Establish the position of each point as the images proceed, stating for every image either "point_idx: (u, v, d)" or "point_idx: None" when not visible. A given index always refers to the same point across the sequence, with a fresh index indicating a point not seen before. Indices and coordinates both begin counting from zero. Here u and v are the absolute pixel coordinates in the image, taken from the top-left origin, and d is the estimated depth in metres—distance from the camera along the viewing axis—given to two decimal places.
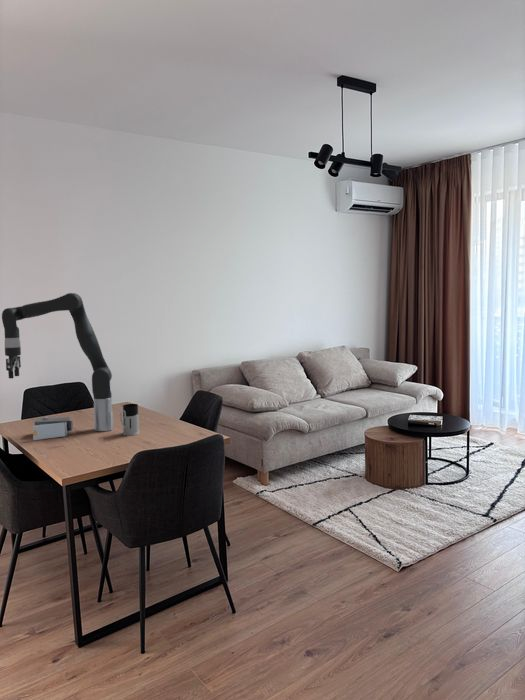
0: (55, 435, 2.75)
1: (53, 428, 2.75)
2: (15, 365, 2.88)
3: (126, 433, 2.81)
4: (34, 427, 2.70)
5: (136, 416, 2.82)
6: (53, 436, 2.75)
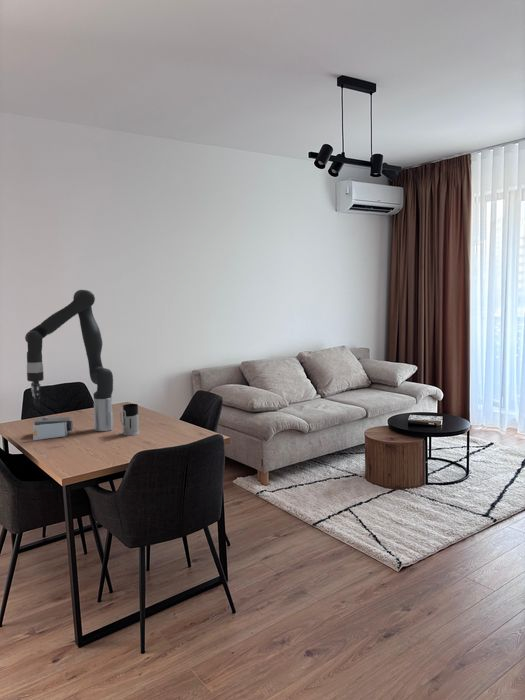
0: (55, 435, 2.75)
1: (53, 428, 2.75)
2: (36, 393, 2.70)
3: (126, 433, 2.81)
4: (34, 427, 2.70)
5: (136, 416, 2.82)
6: (53, 436, 2.75)
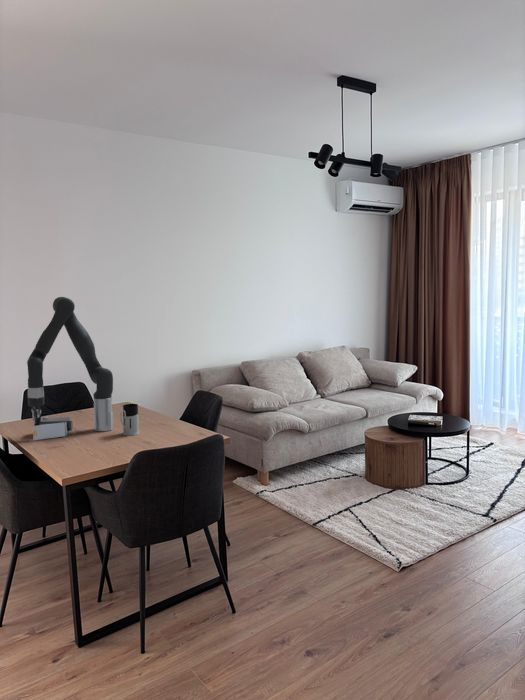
0: (55, 435, 2.75)
1: (53, 428, 2.74)
2: None
3: (126, 433, 2.81)
4: (34, 427, 2.70)
5: (136, 416, 2.82)
6: (53, 436, 2.75)
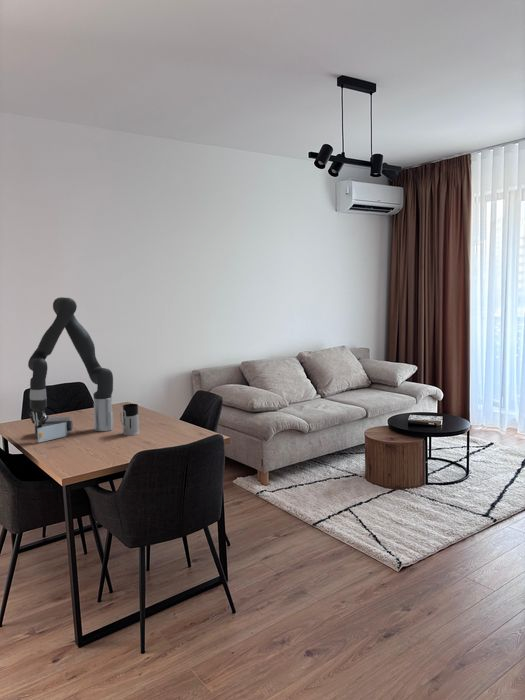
0: (57, 436, 2.74)
1: (55, 429, 2.73)
2: None
3: (126, 433, 2.81)
4: (39, 429, 2.66)
5: (136, 416, 2.82)
6: (55, 437, 2.73)
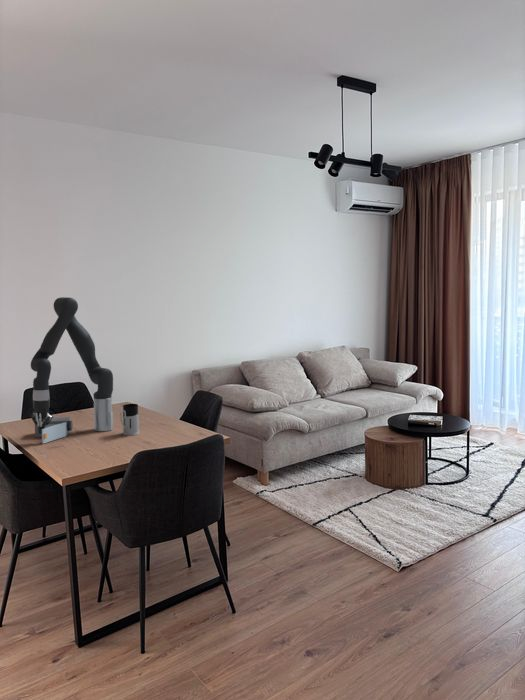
0: (59, 436, 2.73)
1: (57, 429, 2.72)
2: None
3: (126, 433, 2.81)
4: (44, 430, 2.64)
5: (136, 416, 2.82)
6: (57, 437, 2.73)
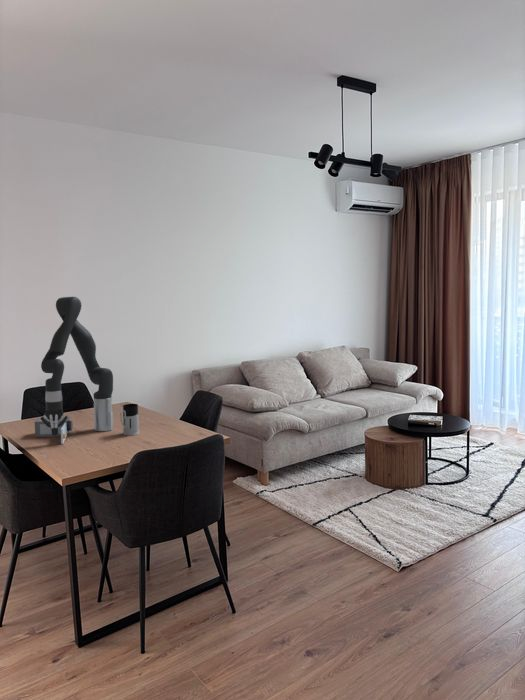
0: (65, 436, 2.73)
1: (65, 429, 2.72)
2: None
3: (126, 433, 2.81)
4: (62, 430, 2.64)
5: (136, 416, 2.82)
6: (65, 437, 2.73)
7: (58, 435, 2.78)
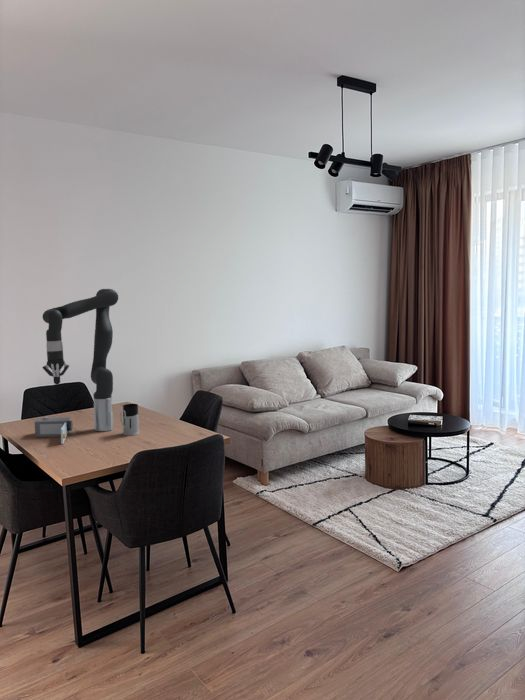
0: (65, 436, 2.73)
1: (65, 429, 2.72)
2: None
3: (126, 433, 2.81)
4: (62, 430, 2.64)
5: (136, 416, 2.82)
6: (65, 437, 2.73)
7: (58, 435, 2.78)
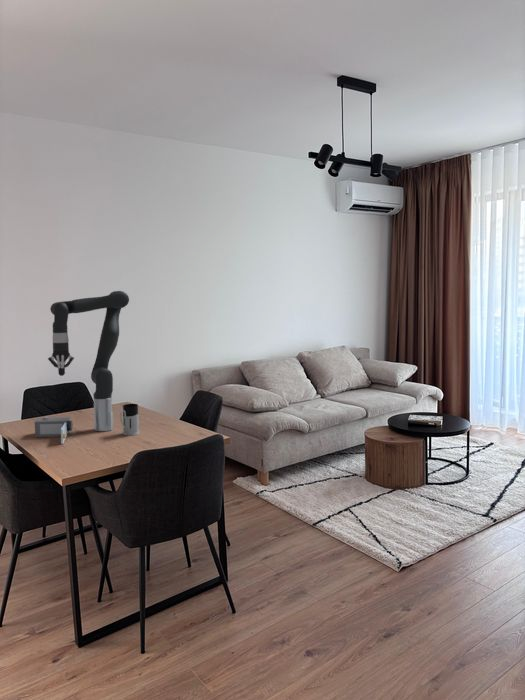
0: (65, 436, 2.73)
1: (65, 429, 2.72)
2: None
3: (126, 433, 2.81)
4: (62, 430, 2.64)
5: (136, 416, 2.82)
6: (65, 437, 2.73)
7: (58, 435, 2.78)
